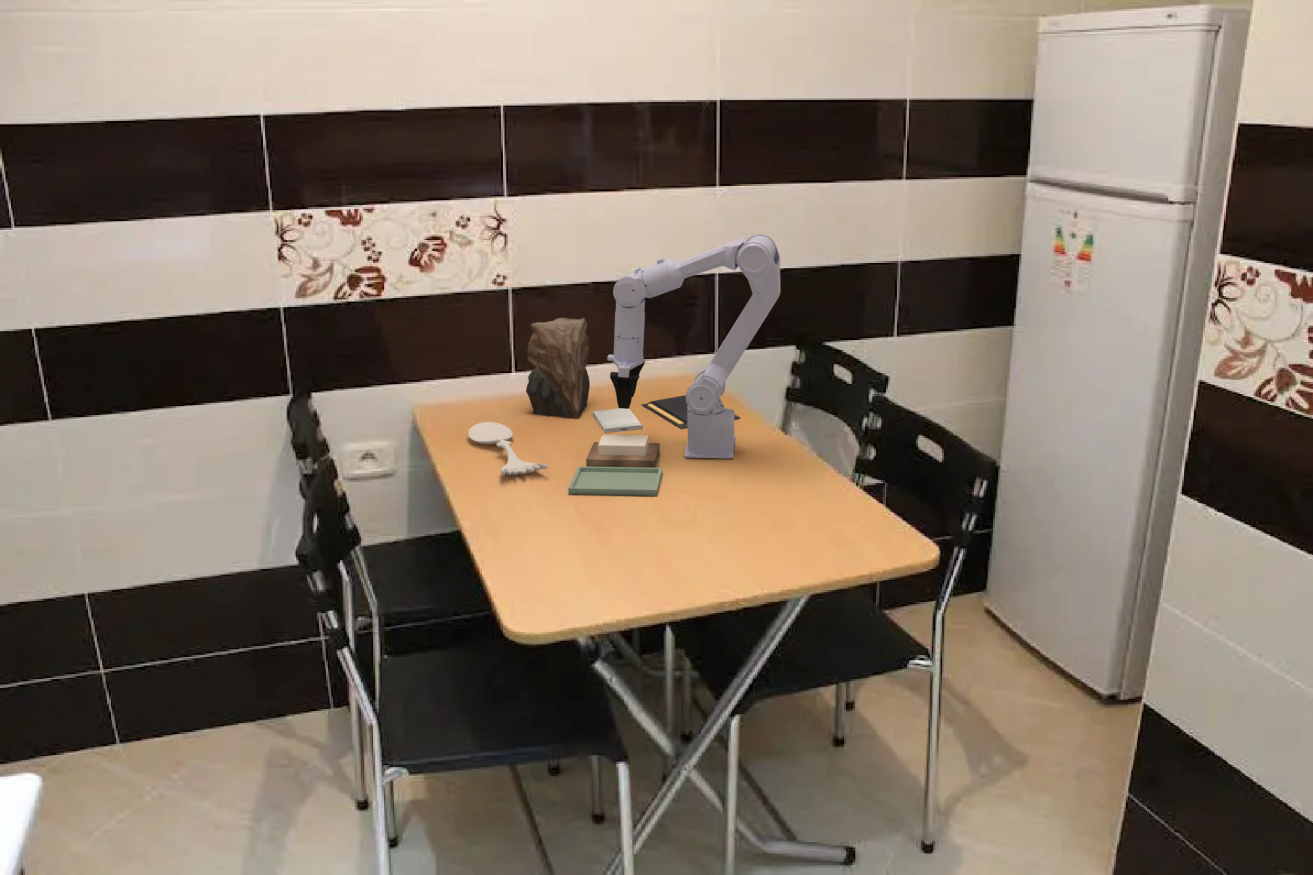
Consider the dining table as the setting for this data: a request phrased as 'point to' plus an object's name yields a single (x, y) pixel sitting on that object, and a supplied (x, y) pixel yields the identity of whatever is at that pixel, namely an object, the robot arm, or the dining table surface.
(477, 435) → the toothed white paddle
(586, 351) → the brown rock
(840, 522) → the dining table surface
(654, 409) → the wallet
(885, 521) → the dining table surface
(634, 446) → the tile
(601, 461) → the deck
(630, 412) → the hard drive
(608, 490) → the tray
